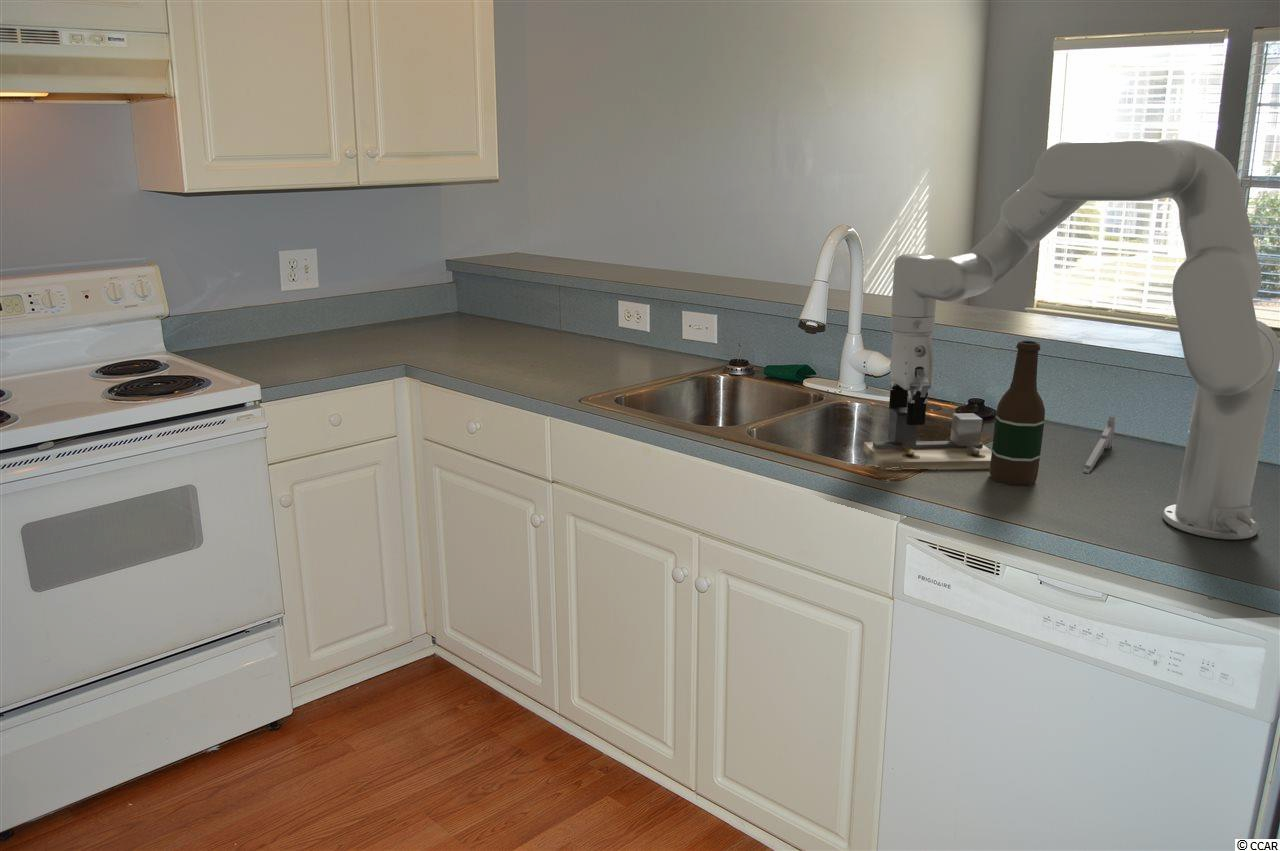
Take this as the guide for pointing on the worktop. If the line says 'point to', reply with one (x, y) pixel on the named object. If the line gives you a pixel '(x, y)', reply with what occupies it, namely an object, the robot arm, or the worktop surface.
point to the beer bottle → (1019, 423)
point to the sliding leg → (901, 429)
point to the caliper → (1101, 445)
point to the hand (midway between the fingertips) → (906, 417)
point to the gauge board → (938, 449)
